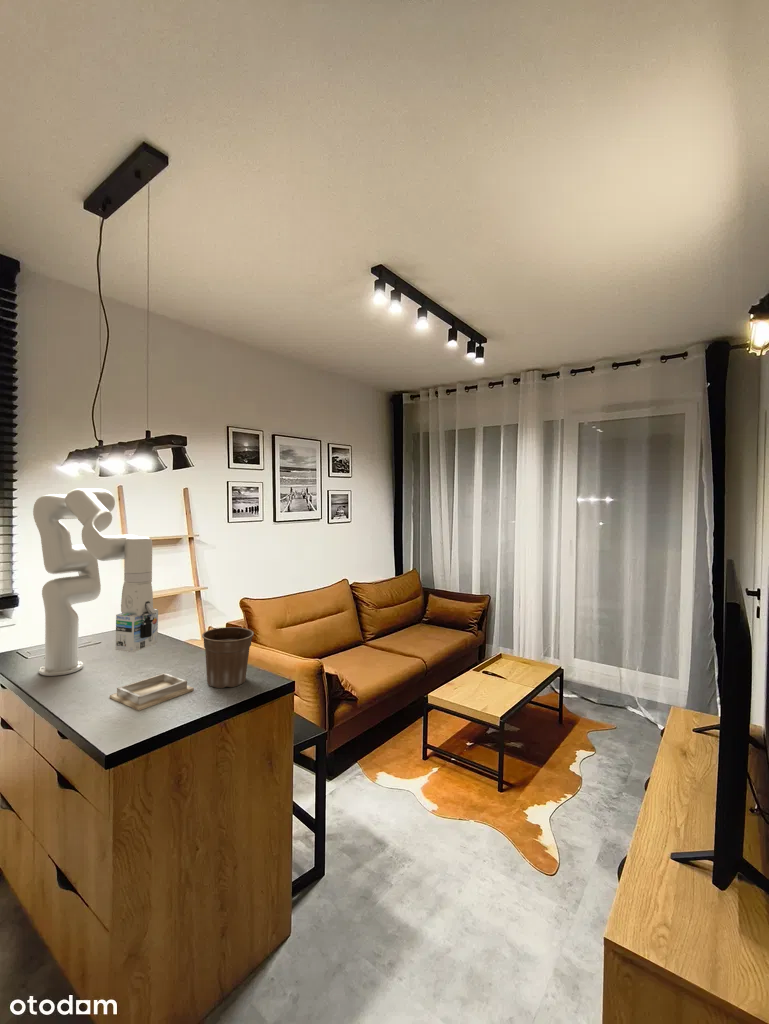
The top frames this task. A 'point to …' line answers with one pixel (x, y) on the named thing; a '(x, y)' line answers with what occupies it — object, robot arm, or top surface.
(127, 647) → the light bulb box
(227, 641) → the plant pot
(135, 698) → the collar
